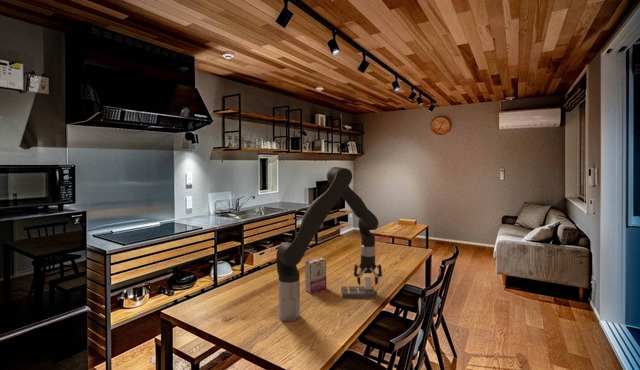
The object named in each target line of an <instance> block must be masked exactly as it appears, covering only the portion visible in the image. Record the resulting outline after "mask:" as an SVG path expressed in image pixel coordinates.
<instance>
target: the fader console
mask: <svg viewBox="0 0 640 370" xmlns="http://www.w3.org/2000/svg"><path fill="white" fill-rule="evenodd" d="M340 292H341V293H340V294H341V297H342V299H361V298H362V299H363V298H364V299H370V298H371V299H372V298H373V299H374V298H375V299H376V297H377V293H376V291H375V288H374V287H373V286H372V285H371V289H369V290H366V289H365V287H364V285H363V286H361V285H358V286H357V285H356V286H355V285H353V286H352V285H351V286H348V285H347V286H345V285H343V286H340Z"/></svg>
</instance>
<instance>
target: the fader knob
mask: <svg viewBox="0 0 640 370" xmlns="http://www.w3.org/2000/svg"><path fill="white" fill-rule="evenodd" d="M363 286H364V287H365V289H366V290H369V289H371V286H372V276H371V274H369V275H368V274H365V275H364V274H363Z"/></svg>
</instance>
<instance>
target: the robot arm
mask: <svg viewBox="0 0 640 370" xmlns="http://www.w3.org/2000/svg"><path fill="white" fill-rule="evenodd" d="M326 173H327V174H326V179H327V182H328V184H329V187H328V189H326V191H325V192H324V193H322V194H321V195H320V196H318V197H317V198H315V200H313V201H312V202H311V203H310V205H309V206H308V208H307V209H306V210H305V213H304V214H303V216H302V219H301V223H300V227H299V231H298V233H297V235H296V236H295V238H294V239H293V241H292V242H290V241H285V242H282V243H281V244H279V246H278V248H277V250H276V271H277V276H278V317H279V319H280V320H281V322H296V321H297V320H298V319H299V318H300V315H301V314H300V313H301V308H300V307H301V306H300V304H301V303H300V297H301V296H300V291H301V290H300V289H301V288H300V284H301V283H300V282H301V281H300V271H299V269H298V267H297V265H299V263H301V261H302V259H303V258H304V255H305V254H306V252H307V250H308V247H309V246H310V244H311V241H312V240H313V239H314V237H315V236H316V234H317V233H318V231H319V229H320V228H321V226H322V225H323V223H324V222H325V220H326V219H327V217H328V215H329V213H330V212H331V210H332V209H333V208H334V206H335V204H336V203H337V201H338V200H339V199H340V198H341V197H342V199H343V200H344V201H345V203H346V204H347V205H348V207H349V208H350V209H351V211H352V213H353V214H354V215H355V217H356V218H358V219H359V220H358V223H357V225H358V229H359V234H360V237H361V239H360V241H361V244H360V252H359V253H360V262H359V263H360V264H356V263H355V264H354V266H353V268H354V269H353V277H354V278H355V277H356V280H357V282H356V283H357V284H358V286H361V277H362V276H364V274H365V275H368V274H372V275H374V285H375V286H376V285H378V283H379V278H380V277H382V276H383V275H382V274H383V272H382V265H381V264H380V263H379V264H376V237H375V235H374V234H373V233H372V232H371V231H375V230H377V229H378V227H379V220H378V217H377V216H376V215H375V214H374V213H373V212H372V211H371V210H370V209H369V208H368V207H367V206H366V203H365V202H364V201H363V199H362V198H361V197H360V196H359V195H358V194H357V193H356V192H355V191H354V190H353V189H352V188H351V187H350V184H351V183H352V179H353V173H352V171H351V169H349V168H345V167H339V166H333V167H331V168H329V169H328V171H327V172H326ZM359 268H360V270H359ZM376 268H377V271H378V273H377V272H376V271H375V270H376ZM358 270H359V272H358Z"/></svg>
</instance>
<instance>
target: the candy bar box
mask: <svg viewBox="0 0 640 370" xmlns="http://www.w3.org/2000/svg"><path fill="white" fill-rule="evenodd" d="M304 271H305V272H304V276H305V278H304V279H305V291H306V292H307V293H309V294H313V293H316V292H319V291H322V290H324V289H327V259H326V258H324V257H322V256H321V257H317V258H313V259H309V260H306V261H304Z"/></svg>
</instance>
